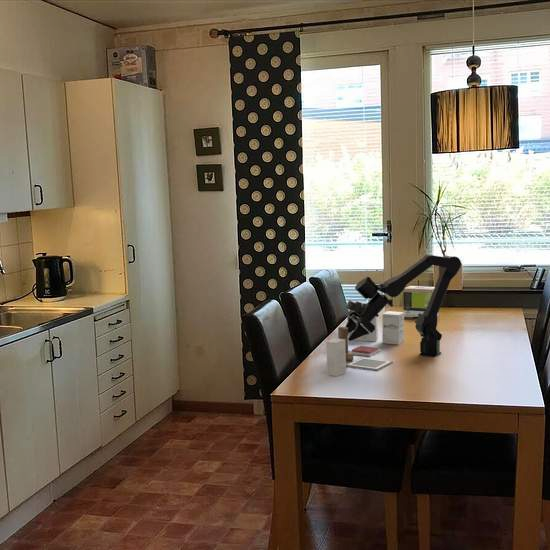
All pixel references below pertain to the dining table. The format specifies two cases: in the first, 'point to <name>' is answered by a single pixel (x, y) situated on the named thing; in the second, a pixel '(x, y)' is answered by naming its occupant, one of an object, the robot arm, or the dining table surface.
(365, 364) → the marked board
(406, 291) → the tea box
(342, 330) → the walnut stamp
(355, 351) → the ink pad
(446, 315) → the dining table surface
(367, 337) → the skincare box
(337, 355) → the skincare box
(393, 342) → the supplement box
